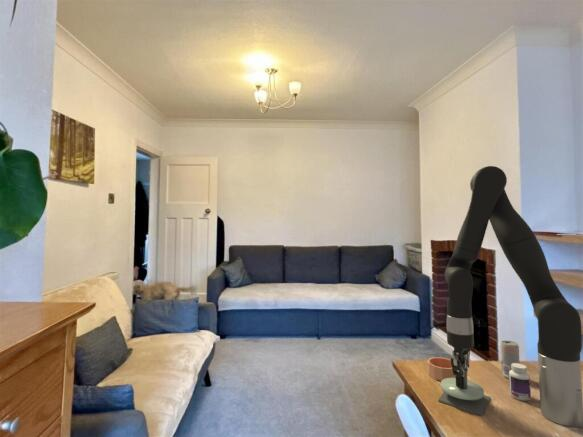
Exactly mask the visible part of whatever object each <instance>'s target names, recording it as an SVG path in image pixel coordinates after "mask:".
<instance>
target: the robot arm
mask: <svg viewBox="0 0 583 437" xmlns="http://www.w3.org/2000/svg"><path fill="white" fill-rule="evenodd" d="M507 180H508V178H507V175H506V173H505V172H504V170H503V169H501V168H500V167H497V166H494V165H488V166H484V167H481V168H480V169H479V170H477V171H476V172H475V173H474V174H473V175H472V177H471V179H470V183H469V187H470V190H471V198H470V202H469V206H468V211H467V212H466V216H465V218H464V220H463V223H462V225H461V228H460V230H459V233H458V236H457V239H456V241H455V244H454V247H453V252H452V255H451V257H450V259H449V261H448V263H447V266H446V267H445V270H444V280H445V282H446V283H447V286H448V288H447V289H448V297H447V300H446V343H447V344H448V345H449V346H451V347H453V350H452V353H451V354H452V357H451V358H450V359H451V365H452V371H453V375H456V386H457V387H458V388H462V389H463V388H464V370H466V371H467V372H468V371H469V368H470V357H471V356H470V355H471V349H472V348H474V346H475V338H474V320H473V309H472V308H473V307H472V300H473V293H474V292H473V291H474V280H473V275H472V274H471V273H470V271H471V269H472V267H473V263H475V262H476V261H477V259H478V258H479V255H480V252H481V249H482V245H483V242H484V239H485V235H486V233H487V232H486V231H487V229H488V224H489V223H490V225H491V228H492V231H493V232H494V234H495V237H496V240H497V241H498V243H499V246H500V248H501V250H502V251H503V253H504V254H503V255H504V256H505V258H506V259H507V261H508V262H509V264H510V266H511V267H512V269H513V271H514V272H515V274H516V275H517V277H518V278H519V279H520V280H521V282H522V284H523V286H524V288H525V290H526V293H527V295H528V297H529V300H530V302H531V305H532V308H533V312H534V314H535V317H536V319H537V327H538V328H537V329H538V332H537V333H538V334H537V335H538V339H537V340H538V341H537V347H536V348H537V364H538V367H537V368H538V384H539V402H540V403H539V407H540V413H541V415H542V416H543V417H545V418H546V419H547V420H549V421H552V422H553V423H556V424H559V425H561V426H566V427H572V428H576V427H577V428H581V429H583V386H582V371H581V369H582V368H581V366H582V365H581V352H582V349H583V348H582V347H583V344H582V343H583V341H582V340H583V338H582V334H583V333H582V320H581V316H580V313H579V311H578V310H577V309H576V308H575V307H574V306H573V305H572V304H571V303H570V302H568V300H567V299H566V298H565V296H564V294H562V292H561V290H560V289H559V287H558V285H557V284H556V283H555V281H554V279H553V277H552V274H551V272H550V268H549V266H548V261H547V258H546V255H545V252H544V251H543V248H542V246H541V244H540V242H539V241H538V238H537V236H536V235H535V233H534V231H533V230H532V228H531V227H530V226H529V224H528V222H526V221H525V219H523V217H522V216H521V215H520V214H519V213H518V212H517V211H516V210H515V208H514V206H513V205H512V202H511V201H510V199H509V197H508V194H507V192H506V190H505V188H506V186H507V182H508V181H507ZM457 370H458V371H457Z"/></svg>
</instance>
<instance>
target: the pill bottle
mask: <svg viewBox="0 0 583 437" xmlns="http://www.w3.org/2000/svg"><path fill="white" fill-rule="evenodd" d="M511 369H512V370H510V371H509V381H508V382H509V394H510V396H511V397H513V398H514V399H515V400H519V401H522V402H523V401H525V402H526V401H530V400H531V398H532V393H531V376H530V374H529V373H527V372H528V368H527V365H525V364H522V363H520V364H518V363H512V364H511Z"/></svg>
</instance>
